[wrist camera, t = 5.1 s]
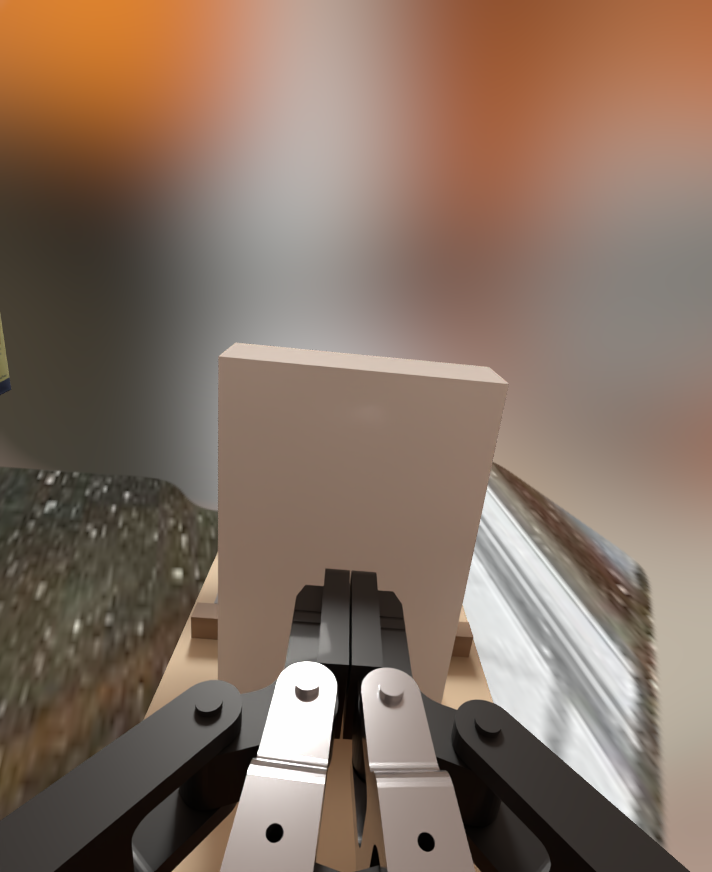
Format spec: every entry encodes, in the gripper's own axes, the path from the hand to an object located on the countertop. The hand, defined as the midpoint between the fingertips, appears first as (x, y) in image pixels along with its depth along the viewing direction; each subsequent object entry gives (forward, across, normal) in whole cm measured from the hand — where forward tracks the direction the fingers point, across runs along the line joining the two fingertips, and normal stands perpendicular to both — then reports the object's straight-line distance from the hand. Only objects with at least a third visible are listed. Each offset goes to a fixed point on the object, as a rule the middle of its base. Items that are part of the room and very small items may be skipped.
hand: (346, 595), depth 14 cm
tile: (+5, 0, +8) cm, 9 cm away
